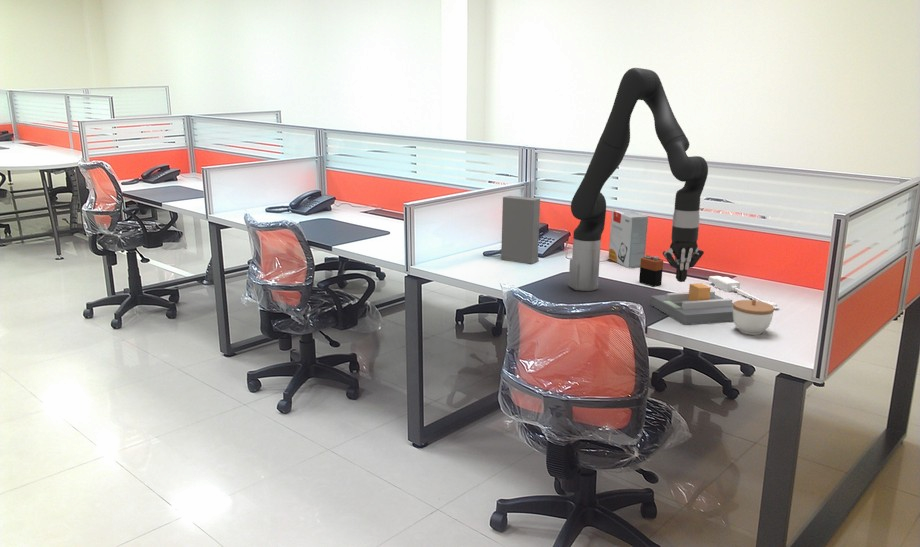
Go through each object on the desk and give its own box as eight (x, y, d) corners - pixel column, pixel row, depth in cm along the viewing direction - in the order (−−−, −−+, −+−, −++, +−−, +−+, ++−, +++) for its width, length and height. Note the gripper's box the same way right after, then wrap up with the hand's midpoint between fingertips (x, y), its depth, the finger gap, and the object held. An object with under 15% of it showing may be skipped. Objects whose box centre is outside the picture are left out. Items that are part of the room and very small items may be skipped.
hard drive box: (607, 259, 286) (610, 209, 281) (624, 257, 288) (628, 209, 283) (627, 268, 271) (631, 216, 266) (645, 267, 274) (649, 215, 269)
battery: (653, 286, 246) (656, 258, 244) (638, 282, 252) (640, 255, 249) (661, 285, 249) (664, 257, 246) (646, 280, 254) (648, 253, 251)
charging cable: (769, 314, 222) (771, 304, 221) (707, 283, 251) (708, 274, 250) (782, 313, 223) (784, 303, 222) (719, 282, 253) (720, 273, 252)
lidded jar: (747, 323, 209) (751, 292, 207) (779, 334, 200) (783, 302, 198) (722, 328, 204) (725, 297, 202) (752, 340, 195) (756, 307, 193)
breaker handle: (697, 304, 215) (698, 288, 214) (688, 299, 220) (689, 283, 218) (708, 303, 216) (710, 287, 215) (699, 298, 221) (701, 283, 219)
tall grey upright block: (538, 261, 280) (541, 198, 274) (531, 264, 275) (534, 200, 269) (507, 256, 287) (509, 195, 281) (500, 259, 282) (502, 197, 276)
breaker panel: (684, 324, 207) (686, 308, 206) (650, 304, 226) (651, 289, 224) (747, 320, 212) (749, 304, 211) (708, 300, 231) (710, 286, 229)
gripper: (672, 227, 205) (667, 285, 209) (712, 225, 208) (707, 283, 212) (658, 223, 212) (654, 279, 216) (698, 221, 215) (693, 276, 220)
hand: (681, 281), depth 214 cm, fingers closed
